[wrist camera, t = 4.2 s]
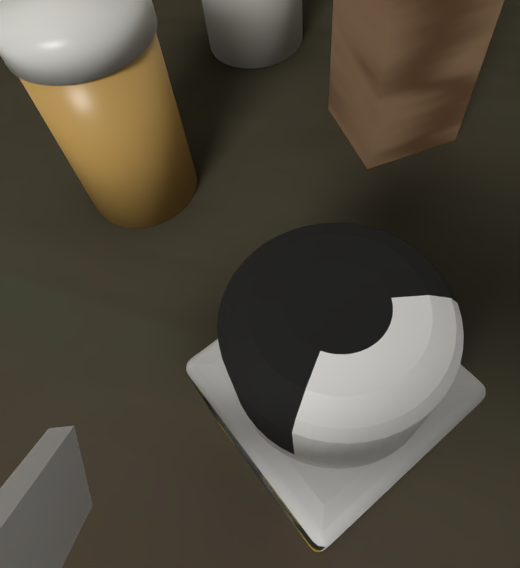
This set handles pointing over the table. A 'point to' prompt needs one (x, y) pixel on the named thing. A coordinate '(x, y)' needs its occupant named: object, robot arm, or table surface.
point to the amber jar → (104, 101)
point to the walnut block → (405, 71)
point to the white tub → (253, 31)
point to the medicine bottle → (335, 369)
